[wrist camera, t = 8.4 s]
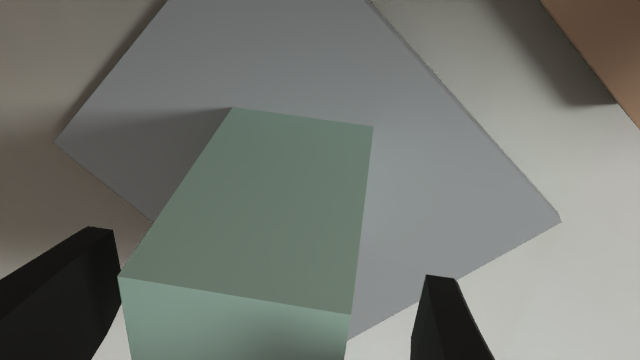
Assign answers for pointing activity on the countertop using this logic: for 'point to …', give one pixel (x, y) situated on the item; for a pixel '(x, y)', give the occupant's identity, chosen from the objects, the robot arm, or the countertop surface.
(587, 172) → the countertop surface
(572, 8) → the pocket tray
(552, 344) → the countertop surface
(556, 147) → the countertop surface
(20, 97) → the countertop surface
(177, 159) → the rubber mat
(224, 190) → the green block
